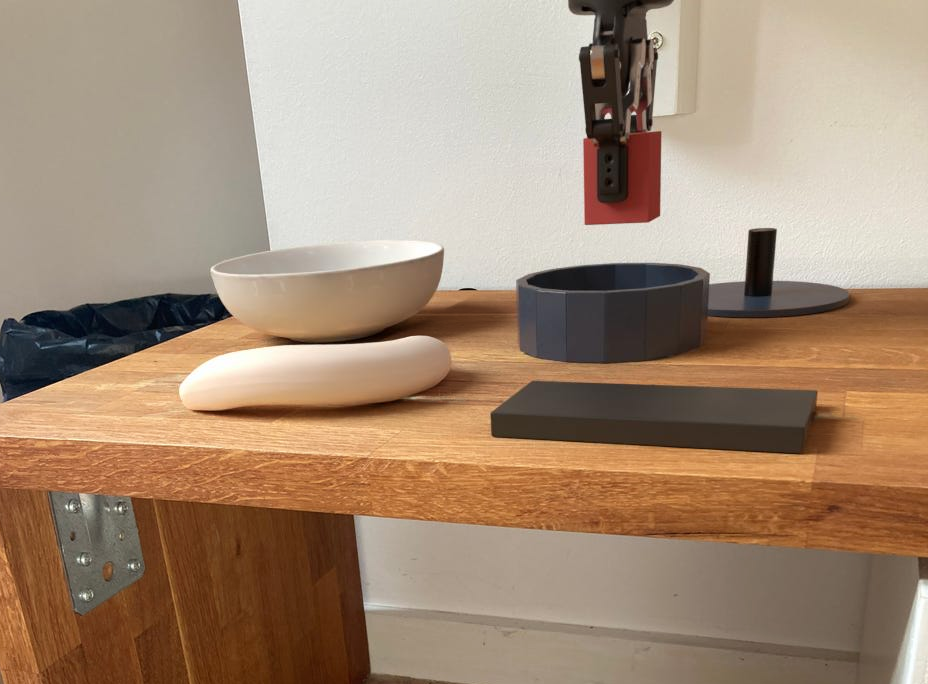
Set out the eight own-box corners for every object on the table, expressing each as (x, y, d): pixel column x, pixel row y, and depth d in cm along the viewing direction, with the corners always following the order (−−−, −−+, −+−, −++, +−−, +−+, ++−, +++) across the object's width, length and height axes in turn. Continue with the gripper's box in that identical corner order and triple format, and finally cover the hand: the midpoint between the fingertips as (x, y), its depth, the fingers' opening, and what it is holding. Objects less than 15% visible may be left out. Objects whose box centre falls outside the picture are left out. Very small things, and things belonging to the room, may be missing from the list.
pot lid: (853, 293, 97) (862, 217, 94) (842, 326, 84) (851, 239, 81) (686, 293, 103) (689, 221, 99) (652, 323, 90) (655, 242, 87)
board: (815, 414, 62) (818, 390, 61) (802, 454, 56) (805, 427, 55) (532, 402, 69) (531, 380, 68) (490, 436, 62) (489, 412, 61)
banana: (163, 427, 69) (217, 376, 82) (446, 426, 68) (455, 376, 81) (152, 352, 66) (209, 313, 79) (445, 351, 65) (455, 311, 78)
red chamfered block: (660, 216, 80) (661, 130, 77) (649, 222, 77) (650, 133, 74) (597, 219, 82) (597, 135, 79) (584, 225, 79) (582, 138, 76)
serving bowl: (300, 310, 108) (292, 240, 104) (483, 314, 99) (480, 238, 96) (174, 353, 91) (159, 272, 88) (381, 362, 83) (373, 272, 79)
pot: (718, 331, 85) (722, 261, 83) (684, 372, 73) (688, 292, 71) (550, 329, 91) (549, 263, 88) (493, 366, 79) (490, 292, 76)
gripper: (653, -91, 64) (648, 207, 72) (695, -66, 75) (687, 188, 83) (538, -74, 67) (545, 211, 74) (596, -53, 78) (596, 192, 86)
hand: (620, 197), depth 79 cm, fingers closed on red chamfered block, 4 cm apart
